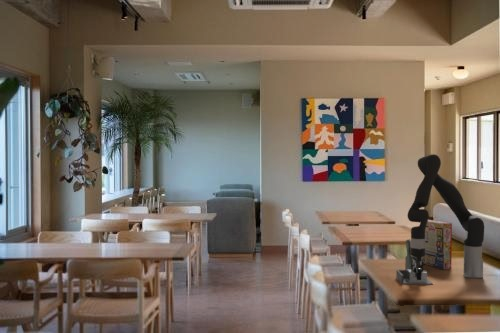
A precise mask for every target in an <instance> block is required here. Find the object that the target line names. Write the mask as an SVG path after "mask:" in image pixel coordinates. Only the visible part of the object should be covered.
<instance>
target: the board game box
mask: <svg viewBox="0 0 500 333" xmlns="http://www.w3.org/2000/svg"><path fill="white" fill-rule="evenodd" d="M452 227H453V224H452V223H451V222H445V221H439V220H433V219H428V221H427V225H426V229H425V256H424V257H421V260H422V261H423V265H427V266H431V267H435V268H437V269H440V270H451V269H452V251H453V250H452V249H453V248H452V244H453V243H452V241H453V240H452V238H453V237H452V235H453V234H452V233H453V231H452V230H453V229H452Z"/></svg>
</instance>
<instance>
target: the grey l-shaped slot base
mask: <svg viewBox="0 0 500 333" xmlns="http://www.w3.org/2000/svg"><path fill="white" fill-rule="evenodd" d="M412 271H413V272H414V269H413V270H412ZM423 272H427V273H428V271H427V269H426V270H424V269H423ZM395 274H396V275H395V278H396V281H397V280H398V282H399V284H401V285H419V284H420V285H422V286H423V285H428V286H429V285H433V282H432V281H430V280H429V279H428V278H427V282H409V281H408V280H407V270H405V269H396V270H395Z"/></svg>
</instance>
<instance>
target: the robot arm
mask: <svg viewBox="0 0 500 333" xmlns="http://www.w3.org/2000/svg"><path fill="white" fill-rule="evenodd" d="M441 165H442V161H441V157H440V156H439V155H437V154H435V153H432V154H427V155H424V156H423V157H420V158H419V159H418V161H417V167H418V169H419V171H420V172H421V174H423V175H424V177H423V178H422V181H421V182H420V183H419V186H418V187H417V189H416V193H415V196H414V200H413V203H411V206H410V207H409V209H408V212H407V219H408V221H410V222H411V223H420V224H419V225H417V226H412V227H411V228H410V255H411V256H412V267H413V270H414V272H417V280H421V273H422V272H423V270H424V264H423V261H422V260H421V257H424V256H425V229H426V225H427V221H428V220H429V218H430V214H429V212H428V210H427V209H425V207H427V206H428V204H429V201H430V197H431V191H432V189H433V188H435V190H436V191H437V193H438V195H440V197H441V198H442V200H443V202H445V203H446V205H447V206H448V207H449V209H450V210H451V211H452V212H453V214H454V215H455V218H457V220H458V221H459V224H460V225H461V227H462V229H464V231H465V232H467V237H466V238H465V239H464V240H463V276H464V277H465V278H469V279H481V278H482V279H483V278H484V260H483V242H484V238H485V222H484V220H483V219H482V218H480V217H478V216H474V215H473V214H472V213H471V211H470V210H468V208H467V206H466V205H465V202H464V198H463V196H462V194H461V192H460V191H459V189H458V188H457V187H456V185H455V184H454V183H452V182H450V181H449V180H447V179H445V178H444V177H443V176H441V175H440V174H439V170H440V169H441Z"/></svg>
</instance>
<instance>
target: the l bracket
mask: <svg viewBox="0 0 500 333" xmlns="http://www.w3.org/2000/svg"><path fill="white" fill-rule="evenodd" d="M427 279H428V271H427V272H422V273H421V280H417V272H413V271H412V270H411V269H407V280H408V281H409V282H427Z"/></svg>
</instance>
